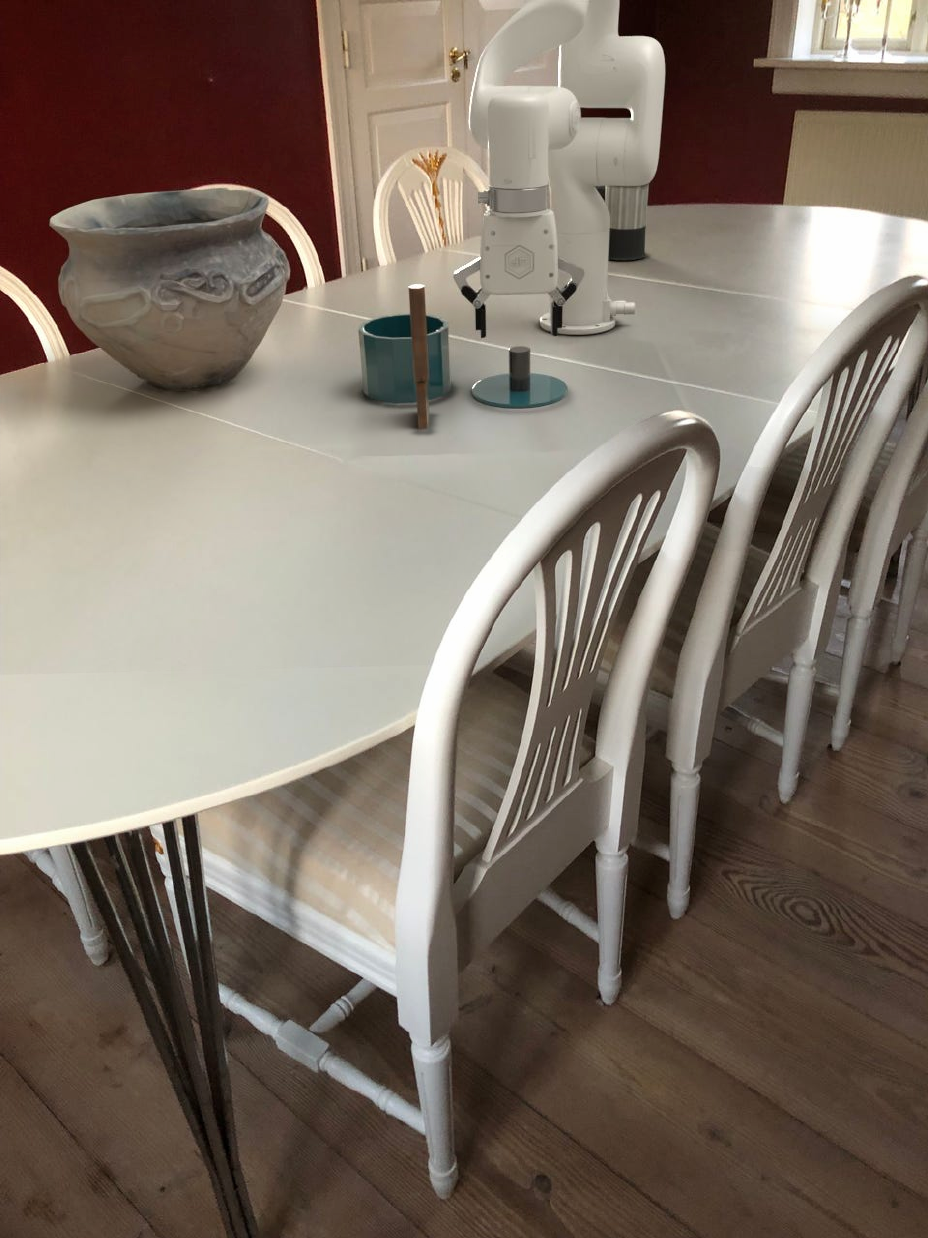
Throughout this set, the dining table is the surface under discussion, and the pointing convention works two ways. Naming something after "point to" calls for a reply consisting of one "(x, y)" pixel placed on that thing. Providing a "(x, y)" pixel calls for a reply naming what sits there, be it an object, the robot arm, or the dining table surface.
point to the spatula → (420, 351)
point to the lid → (519, 385)
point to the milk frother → (626, 220)
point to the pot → (402, 358)
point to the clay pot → (173, 281)
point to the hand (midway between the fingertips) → (518, 334)
